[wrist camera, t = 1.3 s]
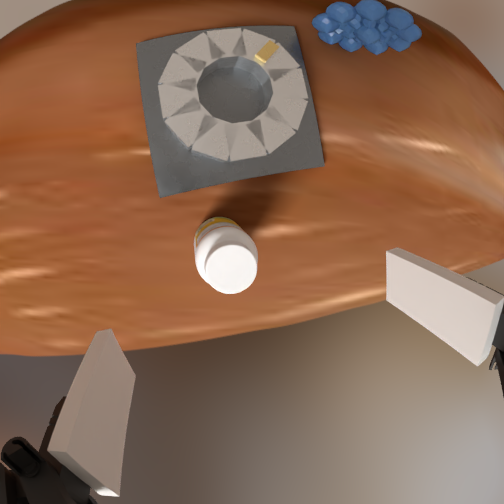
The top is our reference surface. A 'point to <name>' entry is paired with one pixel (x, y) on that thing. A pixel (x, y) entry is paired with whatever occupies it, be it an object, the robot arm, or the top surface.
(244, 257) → the supplement bottle
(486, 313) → the robot arm
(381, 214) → the top surface
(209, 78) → the hub plate
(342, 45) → the grapes
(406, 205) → the top surface
